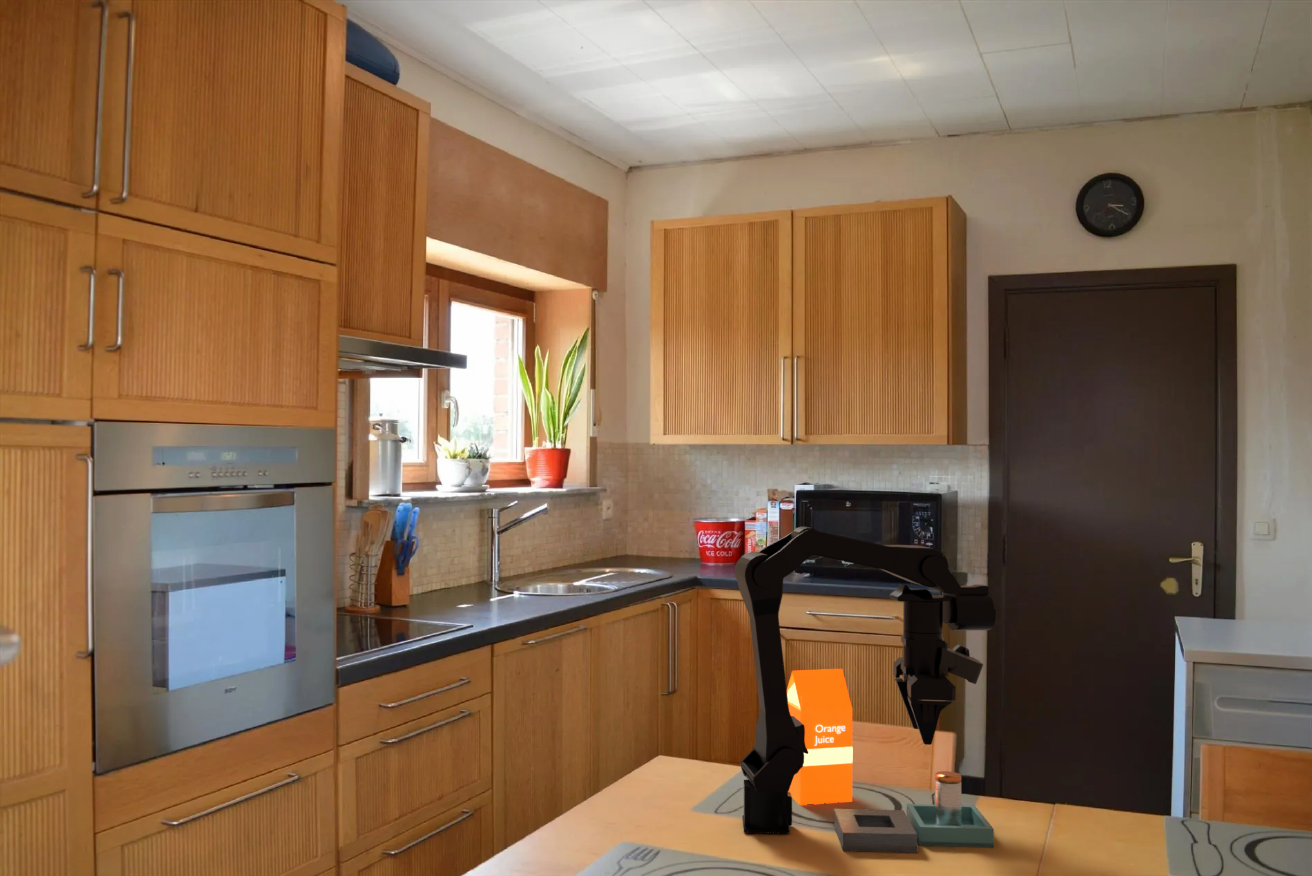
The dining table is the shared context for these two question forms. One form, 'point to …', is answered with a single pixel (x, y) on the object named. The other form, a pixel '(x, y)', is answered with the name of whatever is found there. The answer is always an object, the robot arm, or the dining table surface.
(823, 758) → the orange juice
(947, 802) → the pin
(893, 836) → the grey flat square frame
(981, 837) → the tray
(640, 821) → the dining table surface
